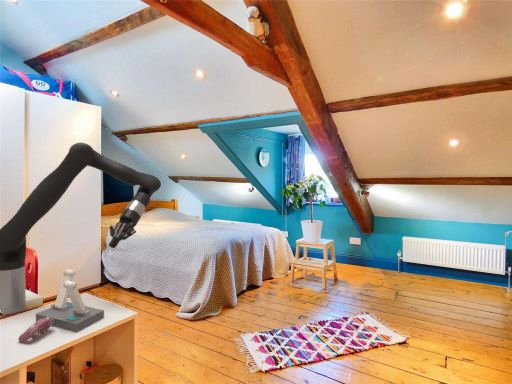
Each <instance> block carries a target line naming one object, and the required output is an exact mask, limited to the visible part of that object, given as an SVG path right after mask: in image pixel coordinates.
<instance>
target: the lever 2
mask: <svg viewBox="0 0 512 384" xmlns="http://www.w3.org/2000/svg"><path fill="white" fill-rule="evenodd" d="M77 285H78V283H77V282H76V281H73V280H72V281H68V280H66V281H65V282H64V283H63V287H65V288H66V290H67V293H68V298H69V299H70V301H71V302H70V303H72V304H73V306H74V309H75V311H76V313H80V314H84V312H86V311H87V310H86V308H85V306H86V305H85V304H84V301H83V299H82V297H81V294H80V292H79V290H78V286H77Z"/></svg>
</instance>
